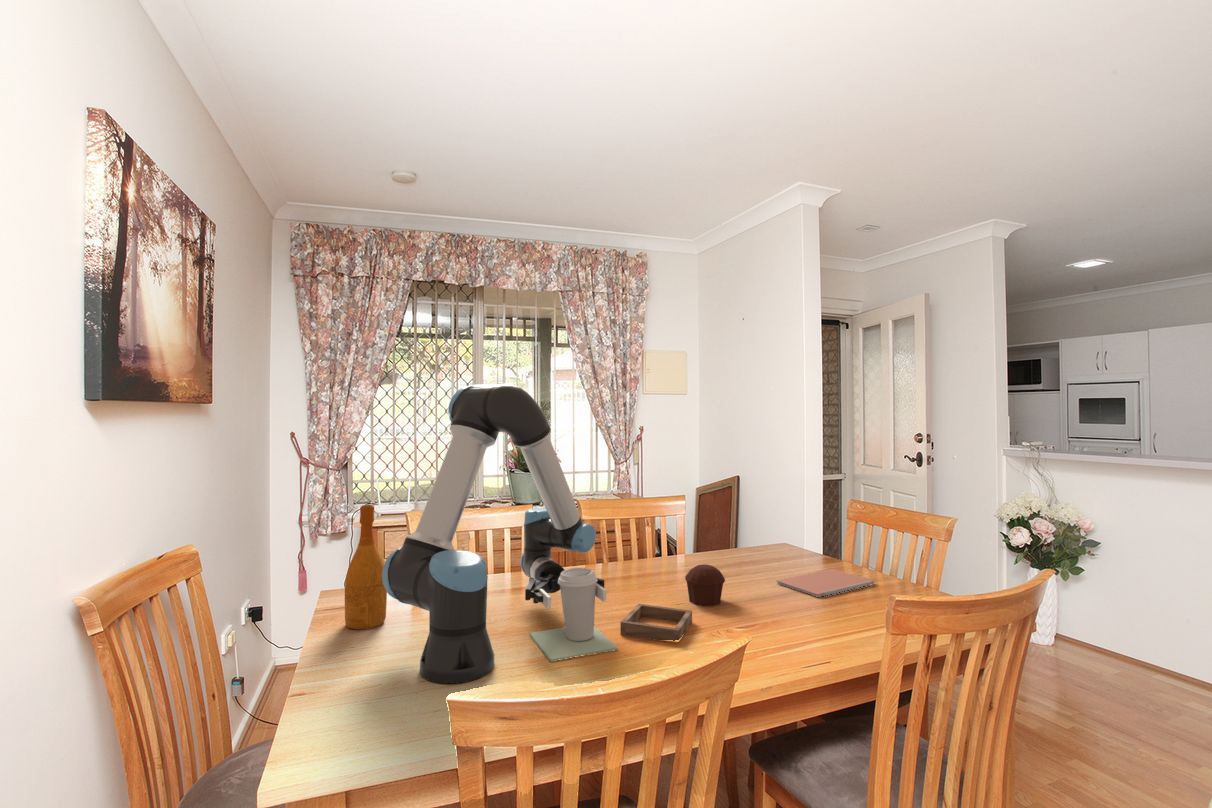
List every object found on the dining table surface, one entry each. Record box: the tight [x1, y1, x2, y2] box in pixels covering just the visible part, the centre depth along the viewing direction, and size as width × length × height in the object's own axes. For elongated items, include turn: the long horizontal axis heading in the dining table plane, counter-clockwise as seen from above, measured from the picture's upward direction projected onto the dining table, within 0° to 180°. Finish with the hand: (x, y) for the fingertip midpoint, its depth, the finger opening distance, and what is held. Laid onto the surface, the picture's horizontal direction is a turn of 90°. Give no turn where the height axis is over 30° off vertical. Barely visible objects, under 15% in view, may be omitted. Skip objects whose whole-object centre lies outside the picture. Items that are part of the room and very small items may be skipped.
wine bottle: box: [344, 504, 388, 630], centre depth 146 cm, size 10×10×30 cm
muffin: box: [684, 564, 726, 607], centre depth 165 cm, size 12×11×10 cm
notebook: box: [775, 568, 875, 598], centre depth 182 cm, size 27×17×2 cm, turn 121°
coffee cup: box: [558, 567, 598, 641], centre depth 138 cm, size 10×10×15 cm
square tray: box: [619, 603, 693, 641], centre depth 145 cm, size 14×14×3 cm
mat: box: [529, 626, 619, 662], centre depth 135 cm, size 16×16×1 cm
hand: (577, 599), depth 132 cm, fingers open, 13 cm apart
